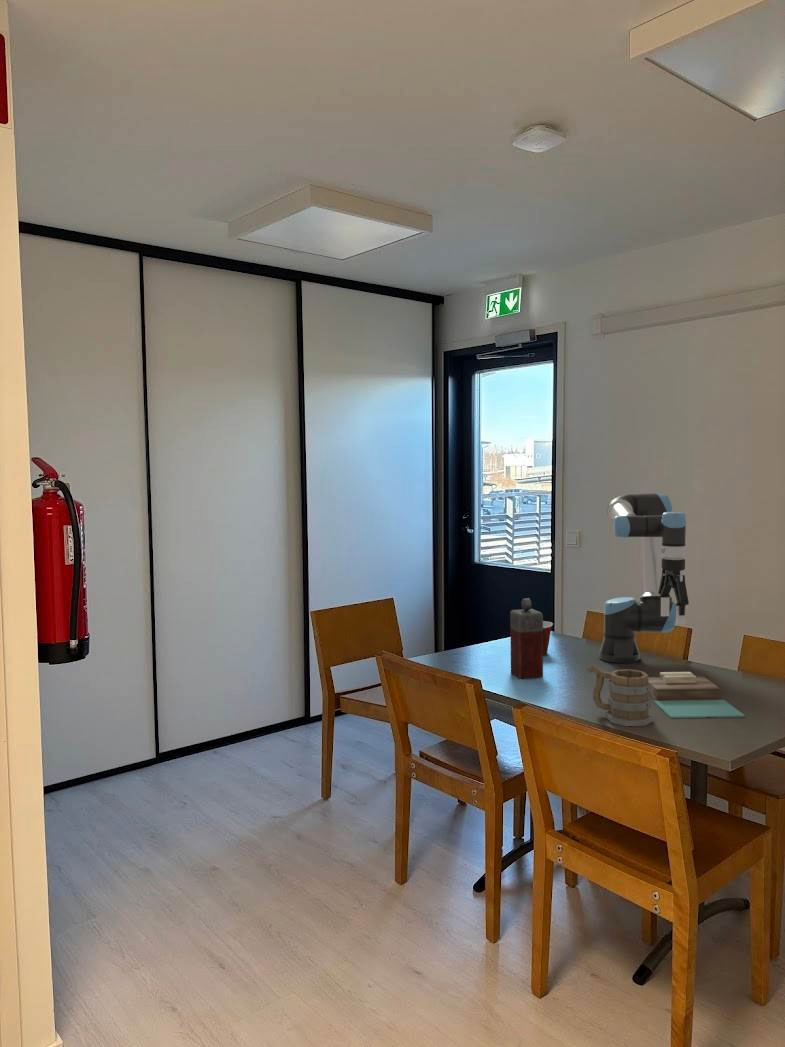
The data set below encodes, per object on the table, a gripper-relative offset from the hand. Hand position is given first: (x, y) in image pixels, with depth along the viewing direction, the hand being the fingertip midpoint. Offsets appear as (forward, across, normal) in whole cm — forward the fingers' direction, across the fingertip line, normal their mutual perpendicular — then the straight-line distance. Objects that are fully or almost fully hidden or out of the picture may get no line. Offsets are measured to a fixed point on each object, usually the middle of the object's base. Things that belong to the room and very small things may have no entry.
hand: (672, 620), depth 277 cm
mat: (+22, +27, -2) cm, 35 cm away
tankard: (+22, +32, -29) cm, 48 cm away
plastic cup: (+23, -50, -34) cm, 65 cm away
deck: (+22, +12, -2) cm, 25 cm away
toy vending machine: (+23, -18, -45) cm, 53 cm away
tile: (+18, +8, -1) cm, 20 cm away
